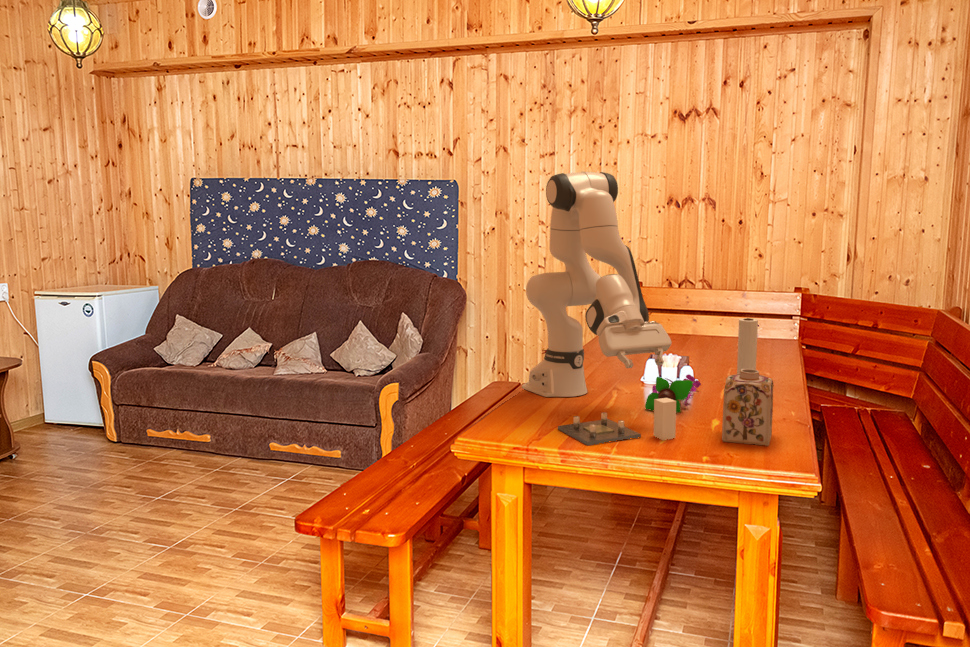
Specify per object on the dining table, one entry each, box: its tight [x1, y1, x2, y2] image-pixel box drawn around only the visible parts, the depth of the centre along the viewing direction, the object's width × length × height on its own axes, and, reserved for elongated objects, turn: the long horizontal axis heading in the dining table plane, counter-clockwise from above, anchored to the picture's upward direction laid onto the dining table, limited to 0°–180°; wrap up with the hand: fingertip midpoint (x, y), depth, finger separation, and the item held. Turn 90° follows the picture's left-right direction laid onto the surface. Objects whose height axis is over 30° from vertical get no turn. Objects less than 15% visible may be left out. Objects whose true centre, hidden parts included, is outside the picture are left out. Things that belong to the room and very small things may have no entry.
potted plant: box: [644, 374, 702, 413], centre depth 248 cm, size 12×16×35 cm
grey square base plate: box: [557, 412, 642, 446], centre depth 216 cm, size 16×16×4 cm
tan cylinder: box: [736, 317, 759, 374], centre depth 272 cm, size 7×6×21 cm
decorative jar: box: [721, 369, 774, 447], centre depth 209 cm, size 12×12×18 cm
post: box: [653, 398, 677, 441], centre depth 212 cm, size 4×4×10 cm
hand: (645, 365), depth 216 cm, fingers open, 8 cm apart
